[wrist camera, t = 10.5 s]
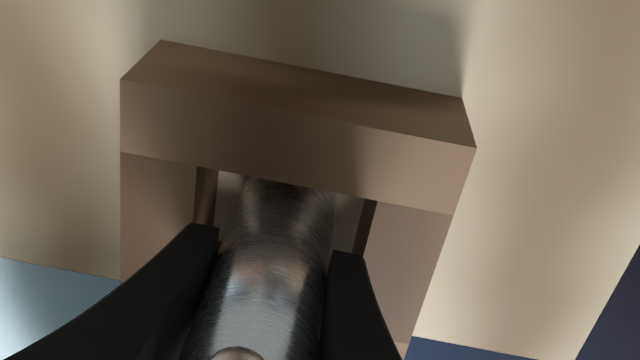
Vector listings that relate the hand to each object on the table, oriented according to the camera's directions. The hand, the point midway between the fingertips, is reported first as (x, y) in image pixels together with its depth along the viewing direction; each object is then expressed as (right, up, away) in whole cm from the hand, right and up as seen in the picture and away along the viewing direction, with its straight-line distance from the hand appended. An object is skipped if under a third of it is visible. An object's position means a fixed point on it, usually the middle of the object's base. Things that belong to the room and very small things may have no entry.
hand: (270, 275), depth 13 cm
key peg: (0, +2, +3) cm, 3 cm away
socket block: (0, +2, +3) cm, 3 cm away
